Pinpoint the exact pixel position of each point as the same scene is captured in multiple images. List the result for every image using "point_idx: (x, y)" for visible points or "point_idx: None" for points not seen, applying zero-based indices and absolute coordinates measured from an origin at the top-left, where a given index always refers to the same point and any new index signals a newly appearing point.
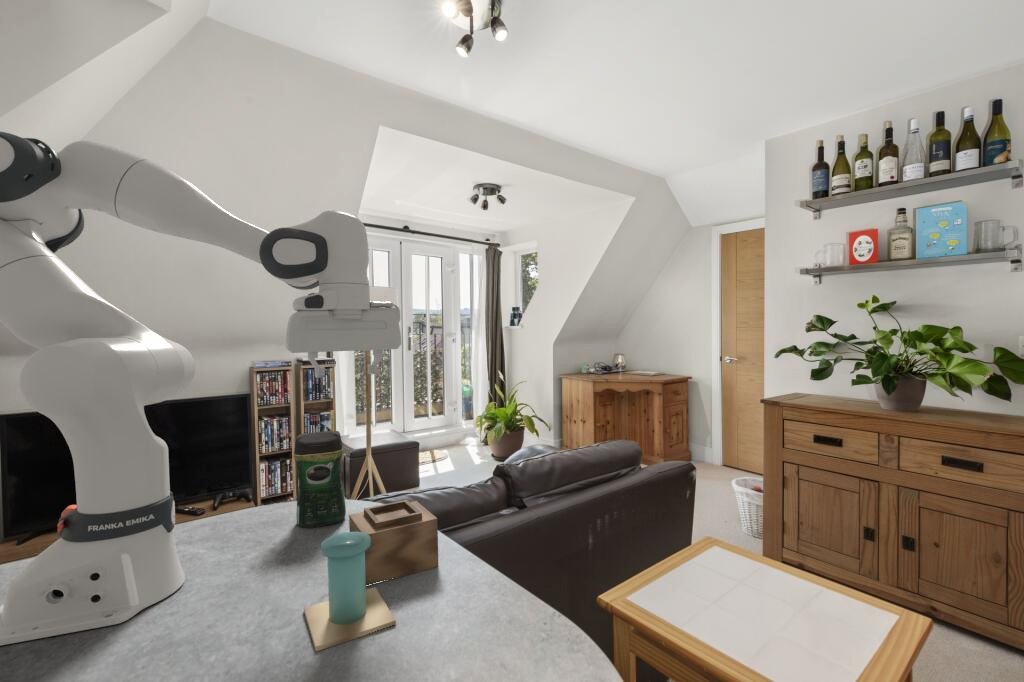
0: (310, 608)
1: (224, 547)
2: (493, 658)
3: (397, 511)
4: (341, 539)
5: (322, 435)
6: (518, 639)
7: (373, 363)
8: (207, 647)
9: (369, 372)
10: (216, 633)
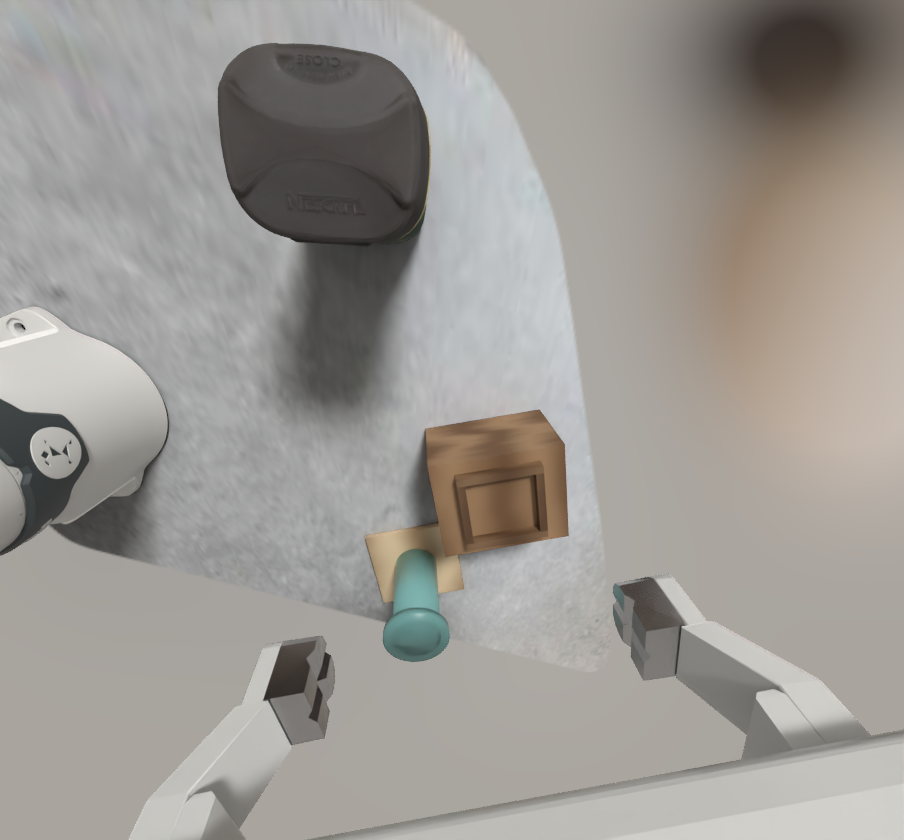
0: (373, 543)
1: (173, 268)
2: (532, 644)
3: (515, 483)
4: (410, 631)
5: (342, 190)
6: (562, 631)
7: (688, 663)
8: (271, 563)
9: (618, 627)
10: (272, 543)
